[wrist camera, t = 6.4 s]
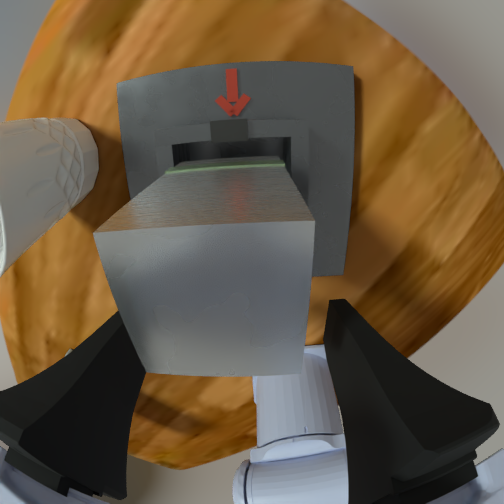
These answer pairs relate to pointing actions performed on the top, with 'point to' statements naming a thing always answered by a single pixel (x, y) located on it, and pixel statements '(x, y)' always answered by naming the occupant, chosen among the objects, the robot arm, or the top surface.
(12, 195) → the white cup
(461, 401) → the robot arm
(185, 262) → the steel column
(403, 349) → the top surface
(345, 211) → the gray frame
